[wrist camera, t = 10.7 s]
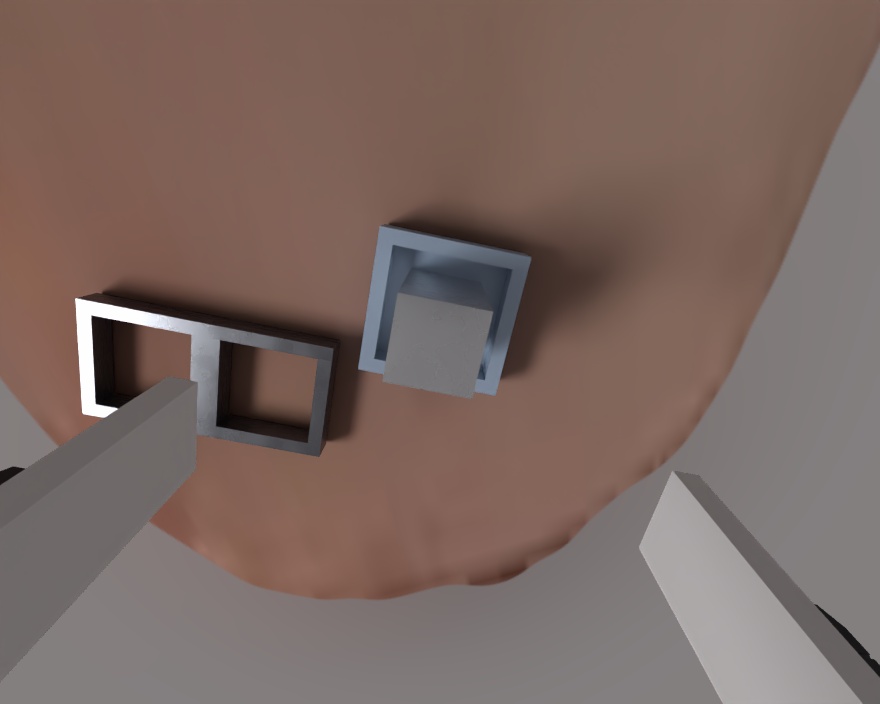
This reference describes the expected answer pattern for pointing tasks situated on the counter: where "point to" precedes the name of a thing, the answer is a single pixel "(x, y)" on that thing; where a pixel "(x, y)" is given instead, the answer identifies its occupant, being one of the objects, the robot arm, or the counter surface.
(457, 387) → the grey rectangular block
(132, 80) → the counter surface
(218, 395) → the rack frame
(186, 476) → the robot arm
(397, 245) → the parts tray
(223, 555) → the counter surface
